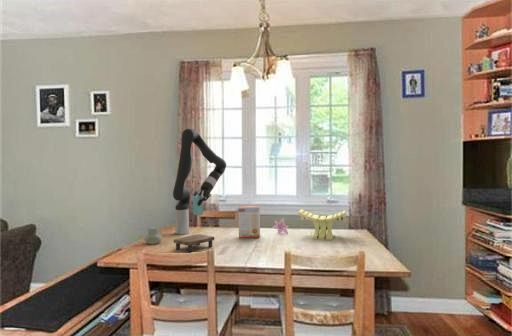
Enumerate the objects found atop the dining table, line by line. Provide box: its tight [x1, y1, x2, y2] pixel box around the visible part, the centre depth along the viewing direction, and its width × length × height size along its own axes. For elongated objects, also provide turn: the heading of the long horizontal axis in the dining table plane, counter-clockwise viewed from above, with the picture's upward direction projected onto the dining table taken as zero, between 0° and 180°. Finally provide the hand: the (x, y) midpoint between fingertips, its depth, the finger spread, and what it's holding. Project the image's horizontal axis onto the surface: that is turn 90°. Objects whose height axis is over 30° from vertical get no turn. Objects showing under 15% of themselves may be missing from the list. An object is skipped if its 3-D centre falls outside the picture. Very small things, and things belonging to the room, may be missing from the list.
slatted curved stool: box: [297, 208, 347, 241], centre depth 271 cm, size 30×16×18 cm, turn 75°
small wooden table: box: [173, 233, 215, 253], centre depth 244 cm, size 14×20×6 cm
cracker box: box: [237, 205, 261, 239], centre depth 273 cm, size 14×6×21 cm, turn 84°
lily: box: [272, 218, 290, 235], centre depth 286 cm, size 12×12×10 cm
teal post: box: [192, 195, 204, 216], centre depth 261 cm, size 4×4×12 cm
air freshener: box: [144, 226, 163, 245], centre depth 258 cm, size 11×8×10 cm
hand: (195, 204), depth 260 cm, fingers closed on teal post, 4 cm apart
